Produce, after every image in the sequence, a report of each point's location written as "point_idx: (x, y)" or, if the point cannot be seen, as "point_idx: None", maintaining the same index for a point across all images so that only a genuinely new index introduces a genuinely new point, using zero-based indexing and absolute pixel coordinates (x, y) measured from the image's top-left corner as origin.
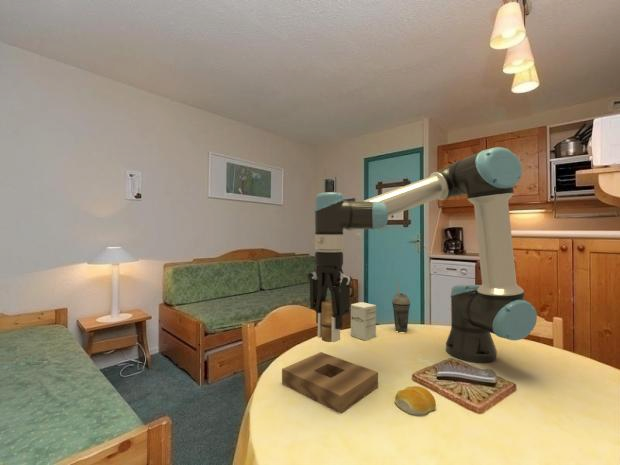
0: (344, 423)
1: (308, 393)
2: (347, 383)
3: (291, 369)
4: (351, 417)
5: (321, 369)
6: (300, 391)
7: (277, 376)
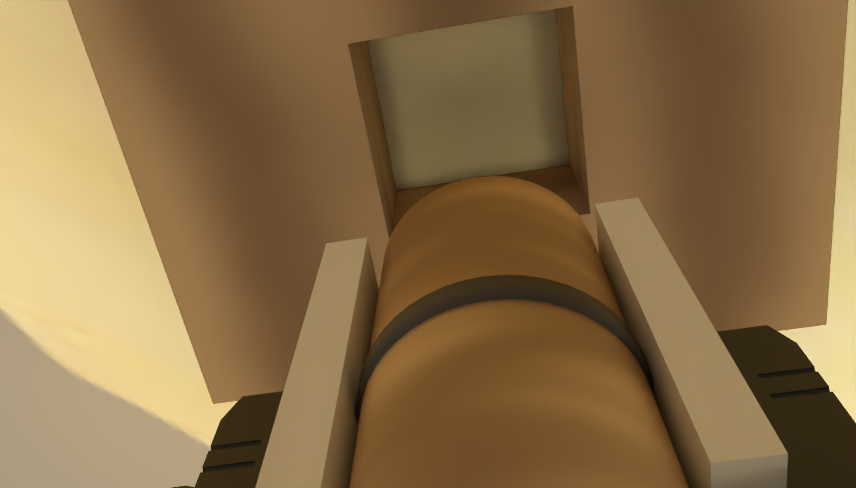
0: (849, 307)
1: None
2: (755, 171)
3: (264, 359)
4: (850, 242)
5: (370, 133)
6: None
7: (121, 309)
